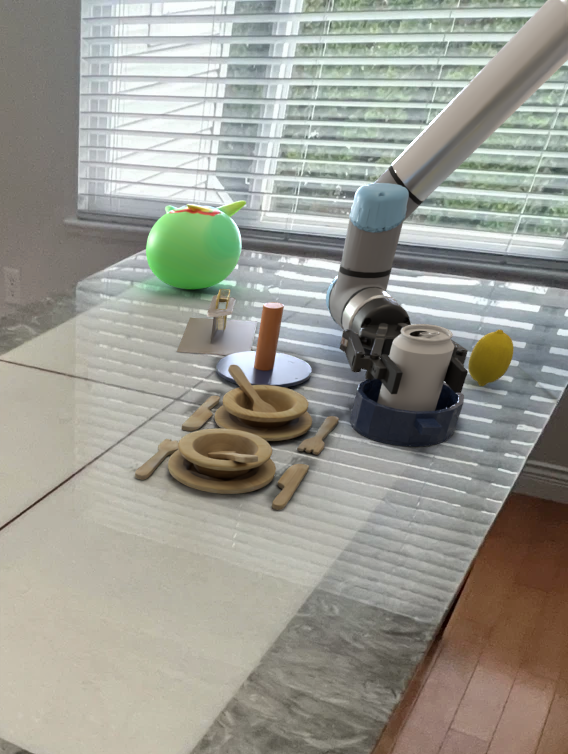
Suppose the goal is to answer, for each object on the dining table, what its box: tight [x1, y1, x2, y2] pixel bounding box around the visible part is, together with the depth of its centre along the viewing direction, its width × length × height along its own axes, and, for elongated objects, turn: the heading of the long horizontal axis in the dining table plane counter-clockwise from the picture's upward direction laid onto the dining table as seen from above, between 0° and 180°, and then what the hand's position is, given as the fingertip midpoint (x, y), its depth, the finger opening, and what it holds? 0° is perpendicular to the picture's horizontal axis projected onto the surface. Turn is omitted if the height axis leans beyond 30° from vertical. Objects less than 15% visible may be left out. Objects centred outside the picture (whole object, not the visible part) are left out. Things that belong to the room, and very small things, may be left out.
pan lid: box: [215, 301, 313, 388], centre depth 127 cm, size 14×14×10 cm
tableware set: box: [134, 365, 340, 511], centre depth 110 cm, size 30×20×6 cm, turn 151°
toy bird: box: [145, 200, 247, 290], centre depth 161 cm, size 18×17×15 cm
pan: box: [349, 378, 465, 448], centre depth 114 cm, size 13×19×4 cm
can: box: [377, 323, 454, 411], centre depth 111 cm, size 8×8×12 cm
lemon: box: [467, 329, 514, 387], centre depth 122 cm, size 6×6×8 cm
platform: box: [176, 288, 258, 356], centre depth 142 cm, size 12×18×7 cm, turn 165°
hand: (429, 382), depth 107 cm, fingers closed on can, 7 cm apart
